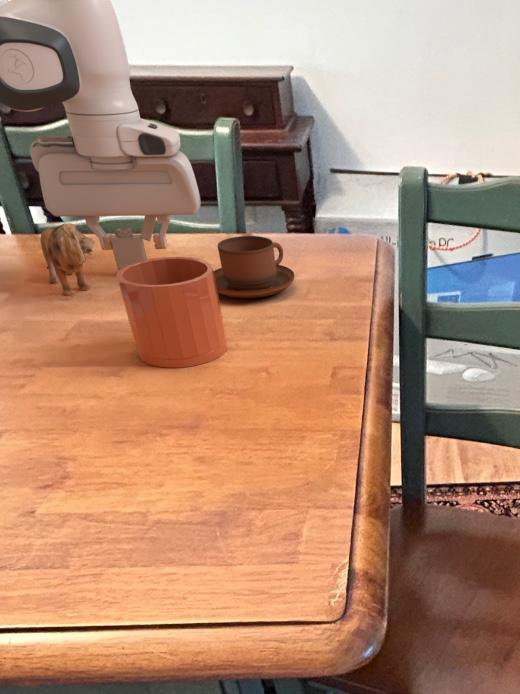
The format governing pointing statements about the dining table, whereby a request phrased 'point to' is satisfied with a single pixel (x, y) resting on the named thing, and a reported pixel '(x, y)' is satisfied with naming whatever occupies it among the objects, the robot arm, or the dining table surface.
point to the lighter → (131, 243)
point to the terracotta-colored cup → (173, 311)
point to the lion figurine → (66, 254)
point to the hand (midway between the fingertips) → (135, 248)
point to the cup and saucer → (251, 268)
